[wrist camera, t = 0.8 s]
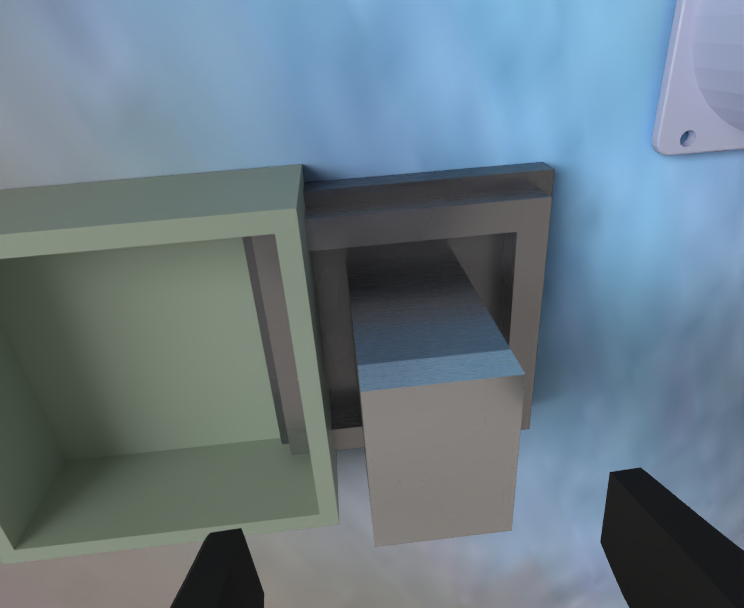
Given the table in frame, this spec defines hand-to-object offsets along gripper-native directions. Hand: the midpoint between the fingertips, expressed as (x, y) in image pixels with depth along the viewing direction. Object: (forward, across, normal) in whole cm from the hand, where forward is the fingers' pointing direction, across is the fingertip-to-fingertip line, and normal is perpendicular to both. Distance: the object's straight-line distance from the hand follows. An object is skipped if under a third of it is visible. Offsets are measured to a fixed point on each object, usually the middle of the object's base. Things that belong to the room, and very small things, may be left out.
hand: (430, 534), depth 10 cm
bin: (+10, +8, 0) cm, 13 cm away
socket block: (+10, -1, +1) cm, 10 cm away
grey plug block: (+9, -1, 0) cm, 9 cm away
